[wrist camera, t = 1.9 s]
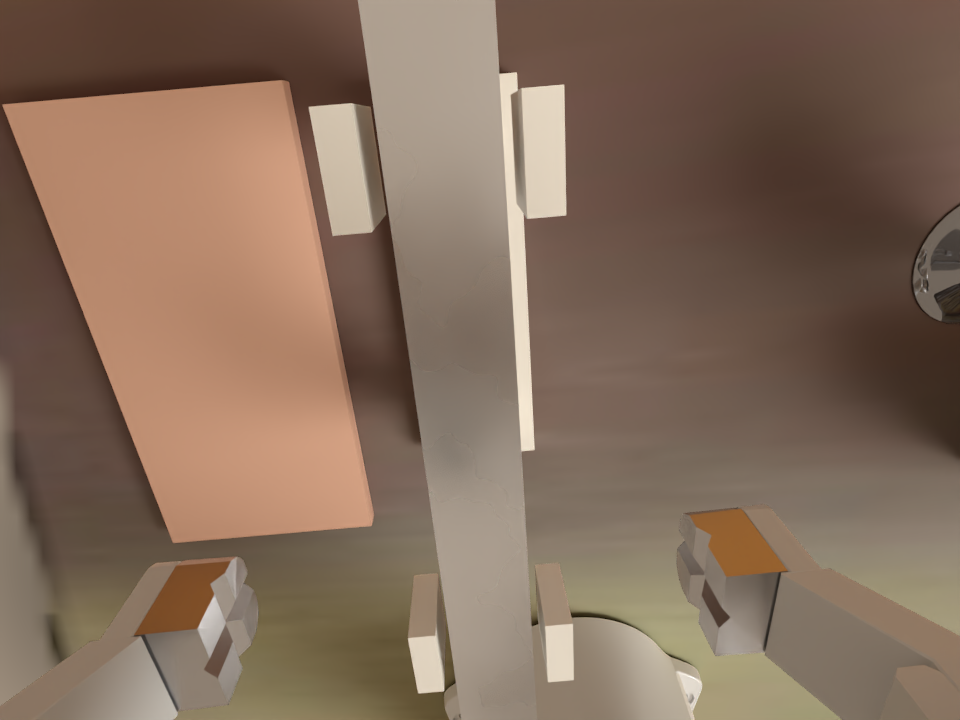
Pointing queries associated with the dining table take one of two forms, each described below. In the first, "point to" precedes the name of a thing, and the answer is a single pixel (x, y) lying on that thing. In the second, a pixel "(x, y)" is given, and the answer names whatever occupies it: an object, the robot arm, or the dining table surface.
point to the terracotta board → (206, 300)
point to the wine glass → (940, 271)
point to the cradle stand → (537, 193)
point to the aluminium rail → (459, 325)
